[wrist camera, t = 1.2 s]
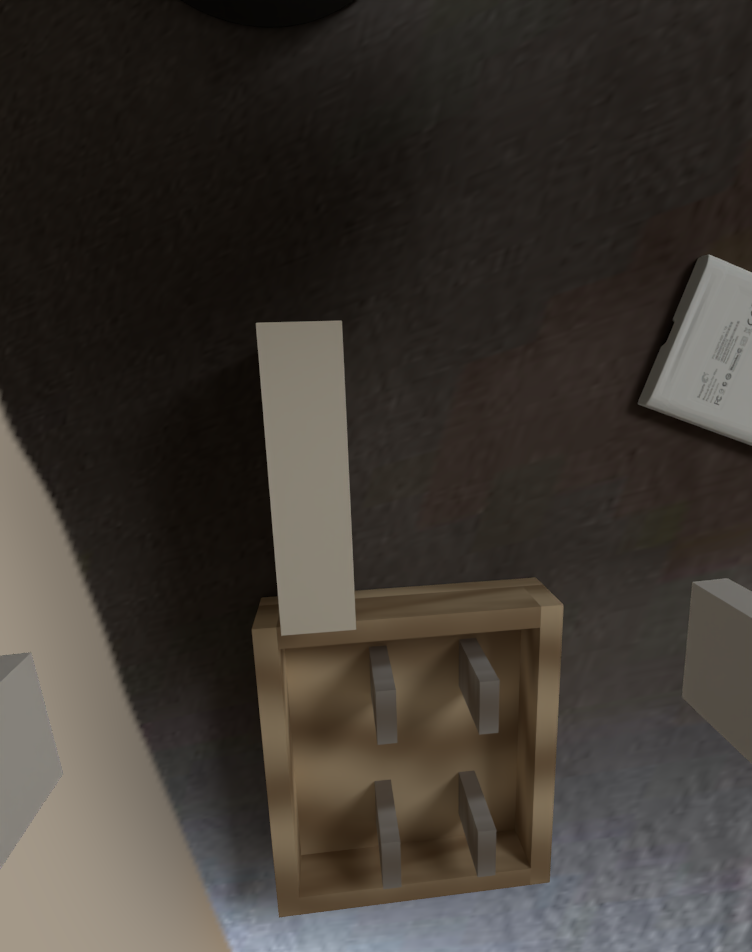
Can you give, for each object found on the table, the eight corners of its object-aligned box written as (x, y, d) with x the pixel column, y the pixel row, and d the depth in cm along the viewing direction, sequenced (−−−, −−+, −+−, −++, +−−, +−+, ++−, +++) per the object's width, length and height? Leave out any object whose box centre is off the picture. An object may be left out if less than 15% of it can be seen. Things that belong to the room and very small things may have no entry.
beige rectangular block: (278, 339, 25) (255, 322, 17) (337, 337, 25) (341, 320, 17) (294, 561, 27) (281, 635, 19) (348, 557, 27) (356, 629, 20)
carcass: (261, 597, 27) (246, 645, 22) (535, 577, 29) (577, 618, 24) (284, 857, 31) (276, 947, 26) (526, 828, 32) (561, 909, 27)
